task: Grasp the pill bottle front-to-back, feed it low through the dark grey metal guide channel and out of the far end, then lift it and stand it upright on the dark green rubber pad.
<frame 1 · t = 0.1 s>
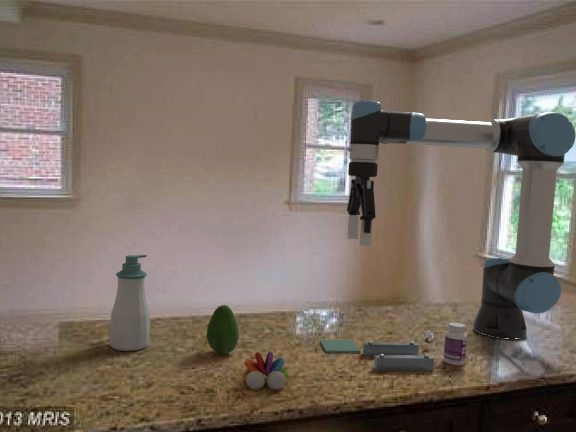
hand: (358, 242, 147), 28 cm above the worktop, fingers open, 13 cm apart
avocado: (221, 353, 138), on the worktop
guide channel: (396, 361, 138), on the worktop
soap bottle: (129, 346, 140), on the worktop
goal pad: (339, 347, 147), on the worktop
adhesive hook: (434, 342, 158), on the worktop
pill bottle: (454, 362, 140), on the worktop
rainbow fan toy: (264, 385, 119), on the worktop
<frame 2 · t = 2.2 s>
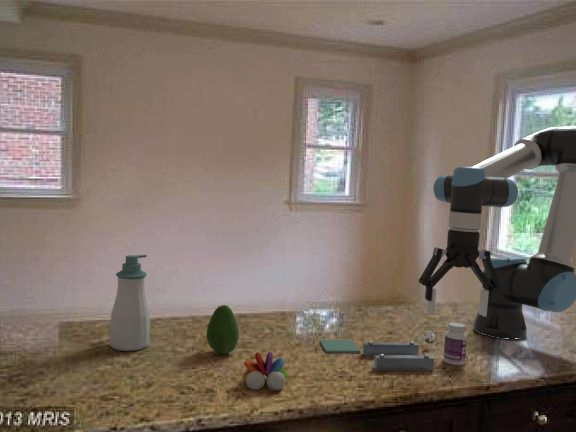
hand: (456, 314, 139), 12 cm above the worktop, fingers open, 13 cm apart
nothing on the worktop moved.
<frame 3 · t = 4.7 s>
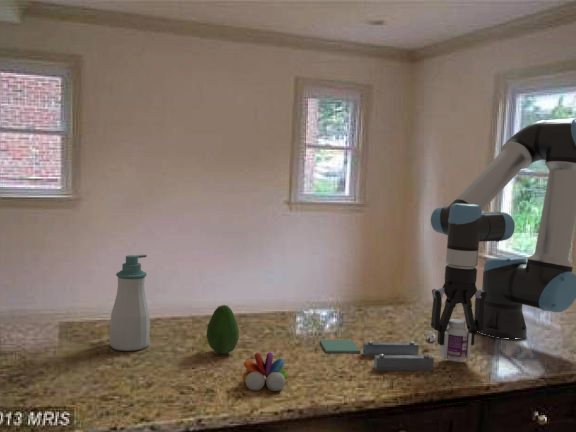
hand: (454, 357, 140), 1 cm above the worktop, fingers closed on pill bottle, 5 cm apart
pill bottle: (454, 359, 140), point 1 cm above the worktop, touching gripper
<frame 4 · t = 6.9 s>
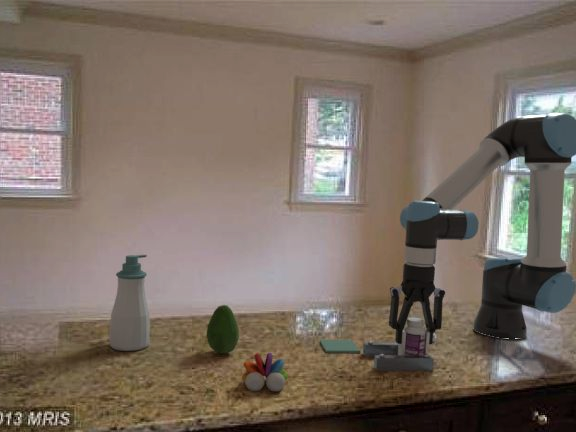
hand: (412, 356, 138), 1 cm above the worktop, fingers closed on pill bottle, 5 cm apart
pill bottle: (412, 358, 138), point 1 cm above the worktop, touching gripper
everything else where it was.
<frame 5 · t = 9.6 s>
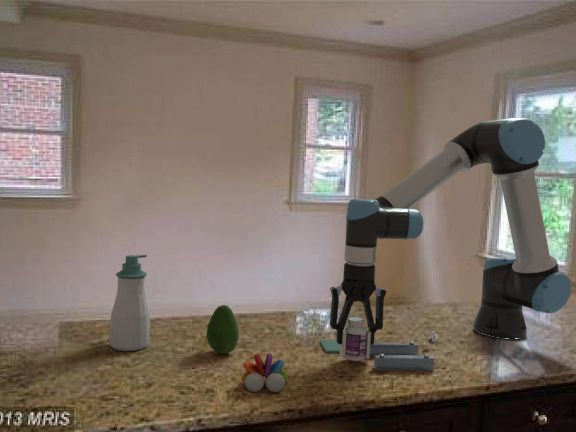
hand: (354, 356, 136), 1 cm above the worktop, fingers closed on pill bottle, 5 cm apart
pill bottle: (354, 358, 136), point 1 cm above the worktop, touching gripper
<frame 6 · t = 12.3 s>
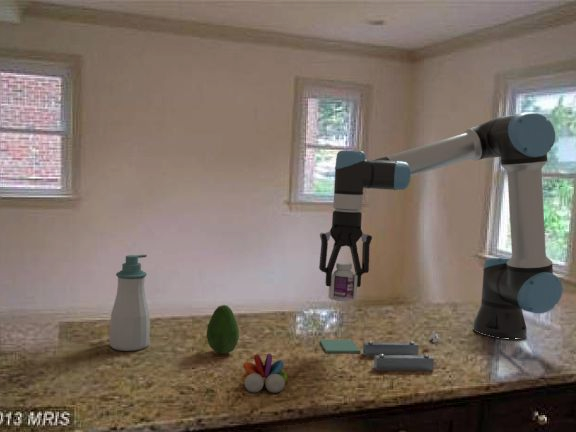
hand: (342, 298, 146), 13 cm above the worktop, fingers closed on pill bottle, 5 cm apart
pill bottle: (342, 300, 146), point 13 cm above the worktop, touching gripper
when the fingers open (1 cm above the worktop, at t = 14.6 s): pill bottle stays where it is, resting on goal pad.
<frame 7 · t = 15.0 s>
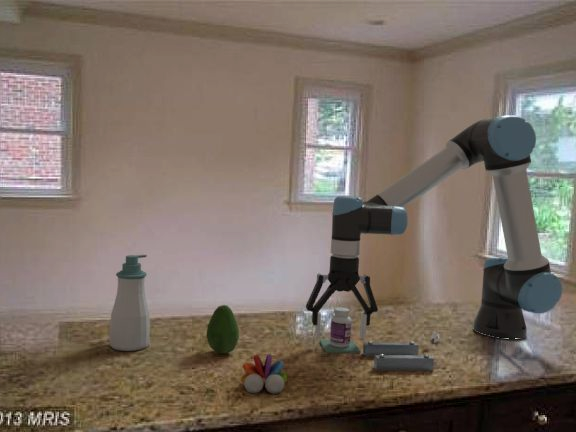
hand: (340, 337, 147), 3 cm above the worktop, fingers open, 11 cm apart
pill bottle: (339, 345, 147), resting on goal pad
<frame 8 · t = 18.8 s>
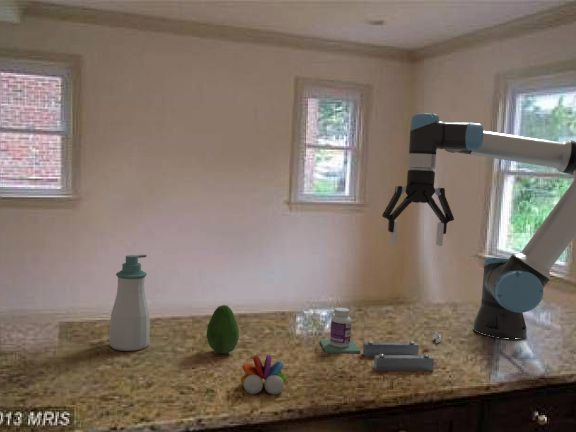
hand: (416, 244, 158), 27 cm above the worktop, fingers open, 13 cm apart
at the end: pill bottle inside the target area on the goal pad (0.1 cm from its centre), point 0.4 cm above the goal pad's base; pill bottle tilted 0°; the gripper is holding nothing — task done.
